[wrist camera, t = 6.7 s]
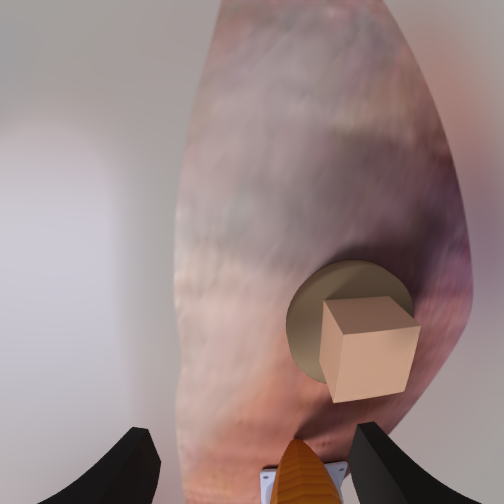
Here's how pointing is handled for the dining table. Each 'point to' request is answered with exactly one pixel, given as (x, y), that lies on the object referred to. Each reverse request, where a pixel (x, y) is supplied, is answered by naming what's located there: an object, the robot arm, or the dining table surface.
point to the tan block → (366, 347)
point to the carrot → (303, 478)
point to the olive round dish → (333, 288)
